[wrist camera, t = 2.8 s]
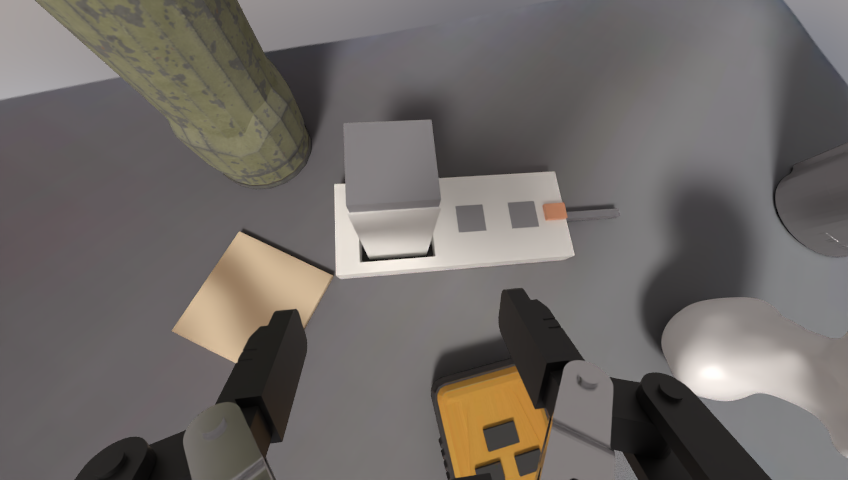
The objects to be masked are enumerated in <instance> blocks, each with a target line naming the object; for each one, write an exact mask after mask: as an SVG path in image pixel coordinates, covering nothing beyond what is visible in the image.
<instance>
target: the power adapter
mask: <svg viewBox="0 0 848 480" xmlns="http://www.w3.org/2000/svg"><path fill="white" fill-rule="evenodd" d="M343 124H344V158H345V193H346V207H347V215H348V217H349V219H350V221H351V223H352V225H353V227H354V229H355V231H356V233H357V235H358V237H359V239H360V241H361V243H362V245H363V247H364V249H365V251H366V253H367V255H368V257H369V259H370V260H372V259H385V258H397V257H410V256H422V255H427V252H428V249H429V245H430V242H431V239H432V236H433V232H434V229H435V226H436V223H437V220H438V216H439V213H440V210H441V204H440V201H441V194H440V186H439V178H438V170H437V161H436V153H435V145H434V137H433V128H432V120H409V121H384V122H360V123H343Z"/></svg>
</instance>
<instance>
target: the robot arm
mask: <svg viewBox="0 0 848 480" xmlns="http://www.w3.org/2000/svg"><path fill="white" fill-rule="evenodd" d="M775 201H776V207H777V210H778V213H779V216H780V218H781V220H782V222H783V223H784V225H785V226H786V228H787V229H788V230H789V232H790V233H791V234H792V235H793V236H794V237H795V238H796V239H797V240H798V241H799V242H801V243H802V244H804V245H805V246H806V247H808V248H809V249H811V250H813V251H815V252H817V253H820V254H823V255H826V256H831V257H845V256H848V143H845V144H843V145H840V146H838V147H836V148H833V149H831V150H828V151H826V152H824V153H821V154H819V155H817V156H814V157H812V158H809V159H807V160H805V161H802V162H800V163H797V164H795V165H793V170H792V173H790V174H789V175H787V176H786V177H784V178H783V179H782V180H781V181H780V183H779V184H778V187H777V189H776V195H775ZM499 328H500V332H501V335H502V337H503V339H504V341H505V344H506V346H507V348H508V350H509V352H510V355H511V357H512V359H513V361H514V364H515V366H516V368H517V370H518V372H519V375H520V377H521V379H522V381H523V384H524V386H525V388H526V390H527V393H528V395H529V397H530V399H531V401H532V404H533V406H534V408H535V409H542V408H546V409H547V411H548V413H549V416H550V417H549V421H548V425H547V429H546V433H545V438H544V442H543V446H542V450H541V455H540V459H539V463H538V468H537V472H536V476H535V480H615V452H614V450H617V451H622V452H623V454H624V456H625V457H626V459H627V461H628V463H629V464H630V466H631V468H632V470H633V471H634V473H635V475H636V477H637V478H638V480H772V479H771V478H770V477H769V476H768V475H767V474H766V473H765V472H764V471H763V469H762V468H761V467H760V466H759V465H758V464H757V463H756V462H755V461H754V459H753V458H752V457H751V456H750V455H749V454H748V453H747V452H746V451H745V449H744V448H743V447H742V446H741V445H740V444H739V443H738V442H737V440H736V439H735V438H734V437H733V436H732V435H731V434H730V433H729V432H728V430H727V429H726V428H725V427H724V426H723V425H722V424H721V423H720V422H719V420H718V419H717V418H716V417H715V416H714V415H713V414H712V413H711V412H710V410H709V409H708V408H707V407H706V406H705V405H704V404H703V403H702V401H701V400H700V399H699V398H698V397H697V396H696V395H695V394H694V393H693V391H692V390H691V389H690V388H688V387H687V386H686V385H685V384H683V383H682V382H681V381H679V380H677V379H675V378H673V377H671V376H669V375H666V374H662V373H648V374H646V375H645V376H644V377H643V378H642V380H641V382H640V383H639V382H633V381H627V380H622V379H616V378H611V377H609V376H608V375H607V374H606V372H605V371H603V370H602V369H601V368H600V367H598V366H596V365H595V364H592V363H590V362H587V361H585V360H584V359H583V357H582V356H581V354H580V353H579V352H578V350H577V349H576V347H575V346H574V344H573V343H572V342H571V340H570V339H569V337H568V336H567V334H566V333H565V331H564V330H563V329H562V328H561V326H560V324H559V323H558V321H557V320H555V317H554V316H553V314H552V313H551V311H550V310H549V309H548V307H546V306H545V305H544V304H542V303H541V302H540V301H538V300H537V299H536V300H530V298H529V297H528V295H527V294H526V292H525V291H524V289H523V288H515V289H505V290H503V291H502V294H501V302H500V310H499ZM306 353H307V338H306V335H305V331H304V328H303V324H302V321H301V318H300V314H299V311H298V310H297V309H289V310H279V311H275V312H274V313H273V315H272V317H271V320H270V322H269V324H268V326H260V327H259V328H258V329H257V330H256V331H255V332H254V333H253V334H252V335H251V336H250V337H249V339H248V341H247V343H246V345H245V347H244V349H243V352H242V353H241V355H240V356H239V358H238V363H236V364H235V366H234V368H233V370H232V372H231V374H230V376H229V378H228V380H227V382H226V384H225V386H224V388H223V390H222V392H221V394H220V396H219V398H218V400H217V402H216V404H215V405H214V406H211V407H210V408H208V409H206V410H205V411H203V412H202V413H200V414H199V415H198V416H197V417H196V418H195V419H194V420H193V421H192V422H191V423H190V425H189V426H188V428H187V430H185V431H183V432H180V433H178V434H175V435H173V436H170V437H168V438H165V439H163V440H160V441H158V442H155V443H153V444H150V445H149V444H148V443H147V442H146V441H145V440H144V439H143V438H140V437H129V438H125V439H122V440H119V441H117V442H115V443H113V444H111V445H110V446H108V447H106V448H105V449H103V450H102V451H101V452H99V453H98V454H97V455H95V456H94V457H93V458H92V459H91V460H90V461H89V462H88V463H87V464H86V465H85V466H84V468H83V469H82V470H81V471H80V473H79V474H78V476H77V477H76V479H75V480H276V478H275V476H274V474H273V471H272V469H271V467H270V465H269V463H268V460H267V458H266V455H267V451H268V448H269V445H270V443H277V442H282V441H283V437H284V434H285V430H286V426H287V423H288V419H289V415H290V412H291V408H292V404H293V401H294V397H295V393H296V390H297V386H298V382H299V379H300V375H301V371H302V368H303V364H304V360H305V357H306ZM612 449H613V450H612ZM452 480H492V478H491V474H490V473H486V474H479V475H472V476H466V477H459V478H454V479H452Z"/></svg>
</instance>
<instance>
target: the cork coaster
mask: <svg viewBox="0 0 848 480" xmlns="http://www.w3.org/2000/svg"><path fill="white" fill-rule="evenodd" d="M333 277H334V276H333V275H331V274H328V273H326V272H324V271H322V270H320V269H318V268H316V267H314V266H312V265H309V264H307V263H305V262H303V261H301V260H299V259H297V258H295V257H292V256H290V255H288V254H286V253H284V252H282V251H280V250H278V249H276V248H273V247H271V246H269V245H267V244H265V243H263V242H261V241H259V240H256V239H254V238H252V237H250V236H248V235H246V234H244V233H242V232H240V231H239V233H238V234H237V235H236V237H235V238H234V240H233V241H232V243H231V244H230V246H229V247H228V249H227V250H226V252H225V253H224V255H223V256H222V258H221V259H220V261H219V262H218V263H217V265H216V266H215V268H214V269H213V271H212V272H211V274H210V275H209V277H208V278H207V280H206V281H205V283H204V284H203V286H202V287H201V289H200V290H199V292H198V293H197V294H196V296H195V297H194V299H193V300H192V302H191V303H190V305H189V306H188V308H187V309H186V311H185V312H184V314H183V315H182V317H181V318H180V320H179V321H178V323H177V324H176V325H175V327H174V328H173V330H172V331H173V332H175V333H177V334H179V335H181V336H183V337H185V338H187V339H189V340H191V341H193V342H195V343H197V344H199V345H201V346H203V347H205V348H207V349H209V350H211V351H213V352H215V353H217V354H219V355H221V356H223V357H225V358H227V359H229V360H231V361H232V362H234V363H238V358H239V356H240V355H241V353H242V352H243V349H244V347H245V345H246V343H247V341H248V339H249V337H250V336H251V335H252V334H253V333H254V332H255V331H256V330H257V329H258V328H259V327H260V326H268V324H269V322H270V320H271V317H272V315H273V313H274V312H275V311H279V310H289V309H297V310H298V311H299V314H300V318H301V321H302V324H303V328H304V329H305V327H306V326H307V324H308V322H309V320H310V318H311V317H312V315H313V313H314V311H315V309H316V307H317V306H318V304H319V302H320V300H321V298H322V297H323V295H324V293H325V291H326V289H327V287H328V286H329V284H330V282H331V280H332V278H333Z"/></svg>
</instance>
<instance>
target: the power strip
mask: <svg viewBox="0 0 848 480" xmlns="http://www.w3.org/2000/svg"><path fill="white" fill-rule="evenodd" d="M439 186H440V194H441V201H440V204H441V210H440V213H439V216H438V220H437V223H436V226H435V229H434V232H433V236H432V239H431V242H432V251H433V257H421V258H409V259H397V260H384V261H372V262H362V243H361V241H360V239H359V237H358V235H357V233H356V231H355V229H354V227H353V225H352V223H351V221H350V219H349V217H348V215H347V207H346V193H345V184H334V190H335V244H336V276H337V277H339V278H340V279H347V278H358V277H370V276H382V275H394V274H405V273H417V272H429V271H441V270H452V269H464V268H476V267H488V266H499V265H511V264H523V263H535V262H546V261H558V260H565V259H568V258H570V257H572V256H575V254H574V250H573V246H572V242H571V237H570V233H569V229H568V225H567V221H579V220H593V219H606V218H616V217H618V216H620V213H619V209H618V208H615V209H601V210H587V211H573V212H566V208H565V204H564V203H562V200H561V195H560V191H559V187H558V183H557V179H556V174H555V171H553V172H536V173H519V174H502V175H485V176H467V177H450V178H439Z"/></svg>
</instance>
